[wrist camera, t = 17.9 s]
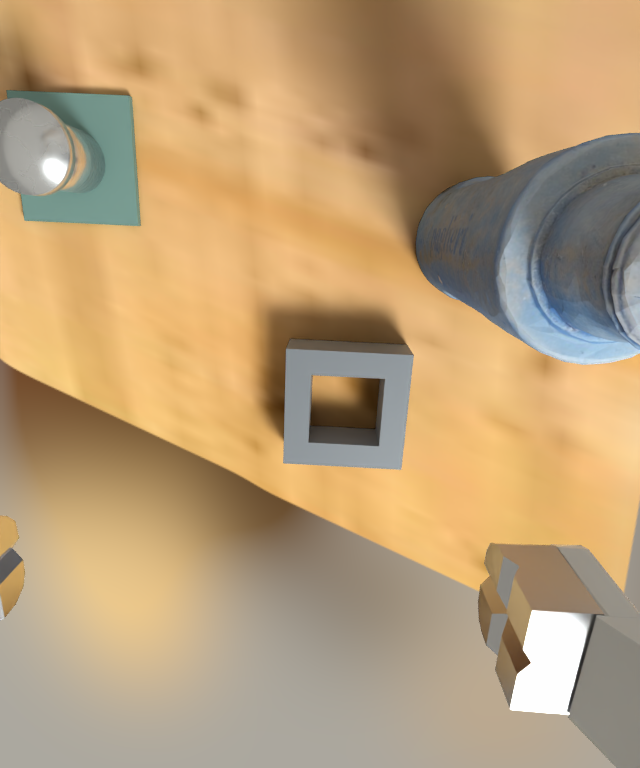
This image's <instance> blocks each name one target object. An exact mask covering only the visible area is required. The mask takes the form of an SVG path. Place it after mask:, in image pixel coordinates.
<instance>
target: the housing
mask: <svg viewBox="0 0 640 768" xmlns="http://www.w3.org/2000/svg"><path fill="white" fill-rule="evenodd" d="M413 357H414V355H413V353H412V352H411V350H410V349H409V347H408V345H406V344H386V343H366V342H346V341H326V340H307V339H290V340H289V343H288V345H287V348H286V373H285V416H284V459H283V463H288V464H307V465H325V466H344V467H362V468H381V469H400V470H401V467H402V457H403V448H404V439H405V430H406V421H407V412H408V402H409V393H410V384H411V375H412V366H413ZM312 375H320V376H340V377H359V378H379V379H380V383H379V394H378V405H377V417H376V428H375V429H367V428H348V427H329V426H310V423H311V399H312Z"/></svg>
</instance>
